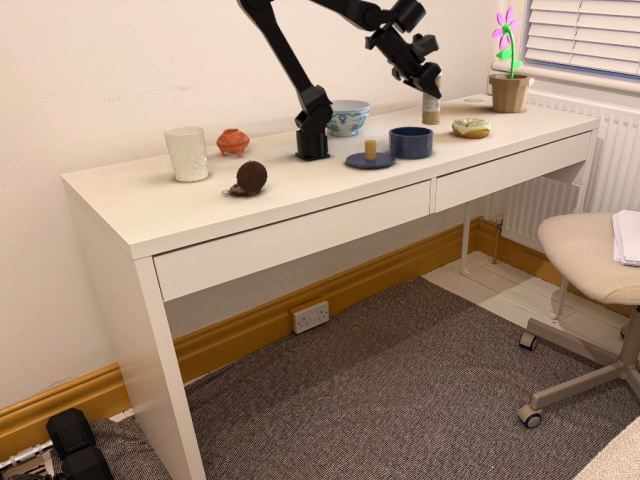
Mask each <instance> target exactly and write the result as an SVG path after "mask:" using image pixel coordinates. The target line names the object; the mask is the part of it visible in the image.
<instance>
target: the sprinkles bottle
mask: <svg viewBox="0 0 640 480" xmlns="http://www.w3.org/2000/svg"><path fill="white" fill-rule="evenodd" d="M440 67H441V66H440ZM441 69H442V71H441V73H440V74H439V75H438V76H437V77H436V78H435V81H436V84H437V86H438V88H439V90H440V93H441V92H442V89H441V85H442V75H443V68H442V67H441ZM441 94H442V93H441ZM421 105H422V107H421V109H422V113H421V119H422V120H421V124H423V125H425V126H437V125H439V124H440V111H441V98H440V99H437V98H435V97H433V96H431V95H429V94H427V93H425V92H422V102H421Z"/></svg>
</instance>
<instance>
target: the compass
mask: <svg viewBox="0 0 640 480" xmlns="http://www.w3.org/2000/svg"><path fill="white" fill-rule="evenodd" d="M235 178H236V183H234V184H233V185H232V186H231V187H230V188H229V189H228V190H227V189H226V190H222V191H221V194H223V195H229V194H231V195H232V196H234V197H252V196H255V195H258V194H259V193H261V191H262V189H263V188H264V186H265V185H266V183H267V181H268V171H267V168H266V167H265V166H264V165H263V164H262V163H261V162H259V161H256V160H251V159H249V160H248V161H245V162H244V163H243V164H241V165H240V167H239V168H238V169H237V172H236V176H235Z"/></svg>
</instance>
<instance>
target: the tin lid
mask: <svg viewBox="0 0 640 480" xmlns="http://www.w3.org/2000/svg"><path fill="white" fill-rule="evenodd" d="M345 162H346V163H347V164H348V165H349V166H353V167H356V168H364V169H379V168H382V167H388V166H390V165H393V164H394V163H396V157H394V156H393V155H390V154H389V153H386V152H379V151H377V141H376V140H375V139H366V140H365V141H364V152H357V153H352V154H350V155H348V156H347V157H346V158H345Z"/></svg>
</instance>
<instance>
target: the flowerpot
mask: <svg viewBox="0 0 640 480" xmlns="http://www.w3.org/2000/svg"><path fill="white" fill-rule="evenodd" d="M513 15H514V10H513V7H512V6H510V7H509V8H508V10H507V11H506V14H505V16H504V15H503V14H502V13H501V12H498V13H497V14H496V21H497V23H498V25H499V26H500V27H502V28H497V29H495V30H493V33H492V35H491V37H492V38H493V39H498V38H500V39H499V43H498V48H499V52H498V53H497V54H495V57H496V58H499V59H500V60H502V61H508V60H510V59H511V63H510V72H509V73H494V74H490V75H488V84H489V85H491V94H492V95H491V98H492V99H491V100H492V111H494V112H497V113H505V114H508V113H509V114H513V113H514V114H516V113H522V112H524V111H525V110H526V109H525V108H526V105H527V100H528V96H529V91H530V87H531V86H533V85H534V84H535V76H534V75H531V74H523V73H514V69H520V68H521V67H523V65H524V63H523V61H521V60H515V59H516V54H515V51H516V50H515V35H514V33H512V31H514V30H516V29H518V27H519V25H520V21H519V20H512V19H513ZM507 42H508V44H510V46H511V49H510V48H505V47H506V43H507Z"/></svg>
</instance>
